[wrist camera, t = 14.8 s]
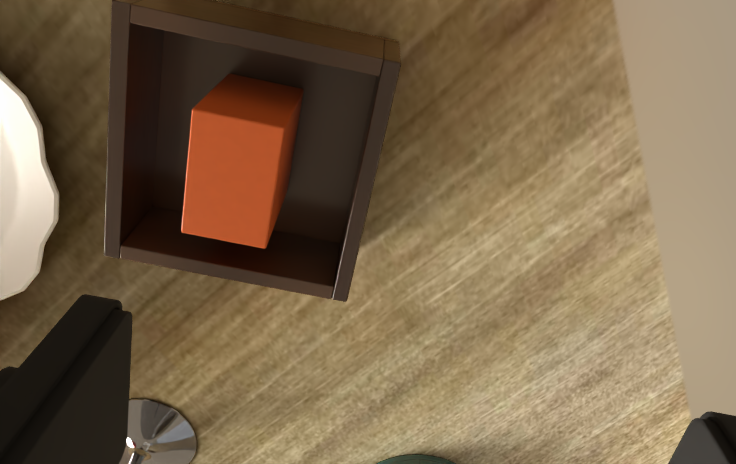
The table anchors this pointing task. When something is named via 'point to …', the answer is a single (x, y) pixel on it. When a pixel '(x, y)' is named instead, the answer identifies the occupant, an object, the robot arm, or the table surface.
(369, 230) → the table surface
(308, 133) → the holder
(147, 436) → the wine glass
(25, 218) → the plate
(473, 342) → the table surface
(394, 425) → the table surface
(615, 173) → the table surface
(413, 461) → the dish
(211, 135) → the block
